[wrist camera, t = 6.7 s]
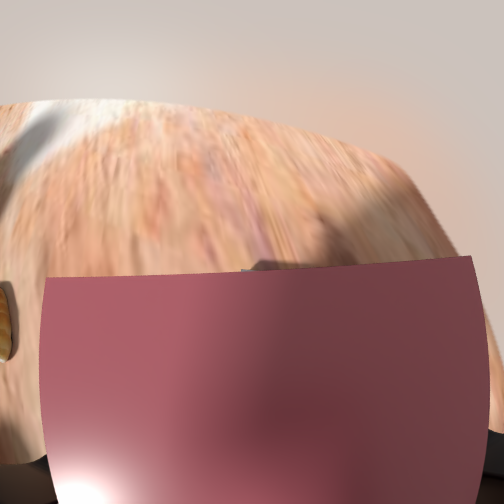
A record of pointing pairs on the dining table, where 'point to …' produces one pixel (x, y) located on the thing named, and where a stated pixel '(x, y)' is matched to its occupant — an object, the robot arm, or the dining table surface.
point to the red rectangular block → (267, 386)
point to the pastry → (4, 328)
